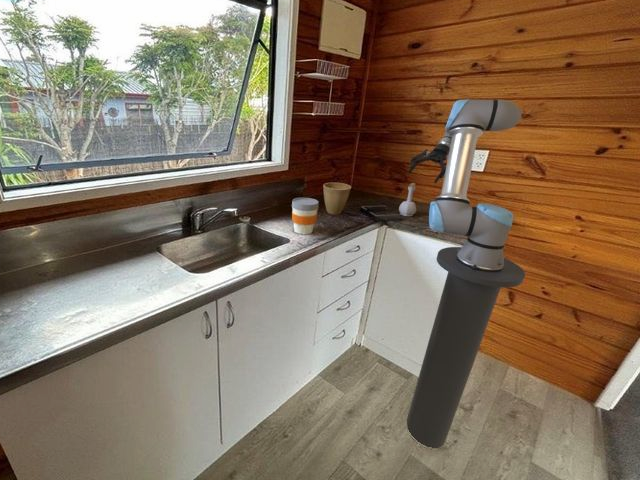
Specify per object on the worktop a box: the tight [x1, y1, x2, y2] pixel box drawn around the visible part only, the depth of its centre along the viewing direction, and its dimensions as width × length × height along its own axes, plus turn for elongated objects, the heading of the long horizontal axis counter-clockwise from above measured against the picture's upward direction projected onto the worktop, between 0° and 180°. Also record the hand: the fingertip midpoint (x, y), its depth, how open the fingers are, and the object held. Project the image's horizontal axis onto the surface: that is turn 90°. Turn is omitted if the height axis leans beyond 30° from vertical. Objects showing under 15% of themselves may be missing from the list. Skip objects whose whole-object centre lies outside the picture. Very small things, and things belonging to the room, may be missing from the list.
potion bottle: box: [398, 182, 417, 217], centre depth 170 cm, size 9×9×18 cm
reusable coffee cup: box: [291, 197, 320, 235], centre depth 145 cm, size 12×13×15 cm
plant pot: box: [322, 182, 352, 216], centre depth 170 cm, size 15×15×16 cm
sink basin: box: [359, 205, 403, 222], centre depth 169 cm, size 16×16×5 cm
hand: (422, 176), depth 158 cm, fingers open, 13 cm apart
